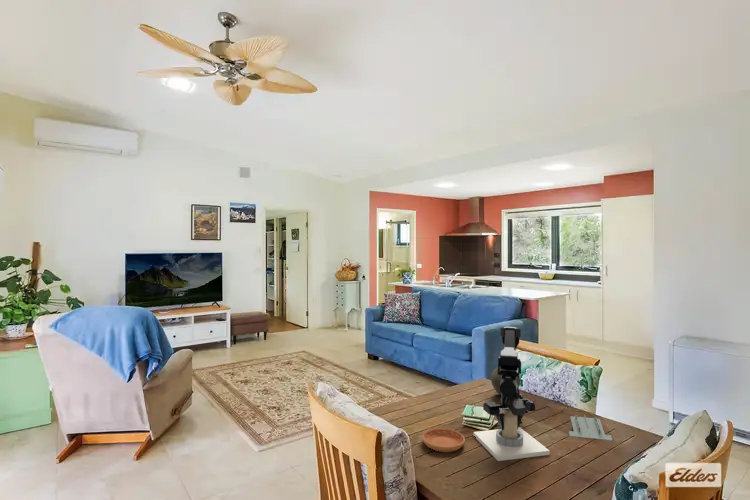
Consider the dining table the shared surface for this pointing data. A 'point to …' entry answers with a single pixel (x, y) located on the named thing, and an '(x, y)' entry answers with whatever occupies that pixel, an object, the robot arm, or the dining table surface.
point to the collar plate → (509, 451)
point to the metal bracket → (588, 428)
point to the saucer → (443, 440)
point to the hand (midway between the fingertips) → (509, 429)
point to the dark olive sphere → (499, 380)
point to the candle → (509, 425)
